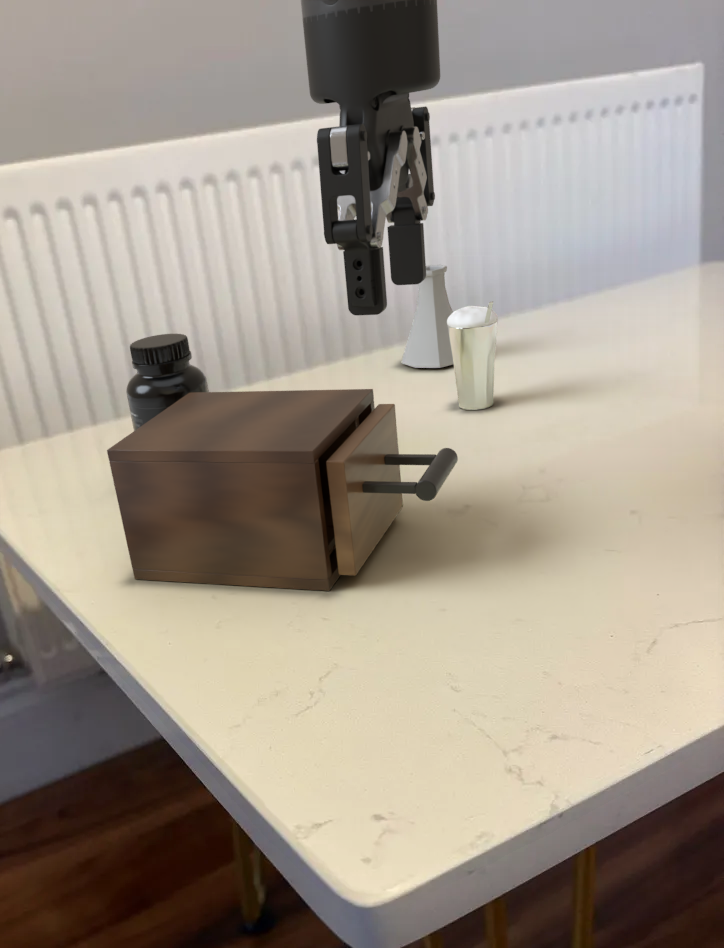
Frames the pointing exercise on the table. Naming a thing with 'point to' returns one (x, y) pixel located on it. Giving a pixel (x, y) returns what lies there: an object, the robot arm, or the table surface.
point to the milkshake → (474, 354)
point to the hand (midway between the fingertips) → (389, 297)
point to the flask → (430, 324)
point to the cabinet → (233, 487)
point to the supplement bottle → (161, 376)
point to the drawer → (371, 485)
